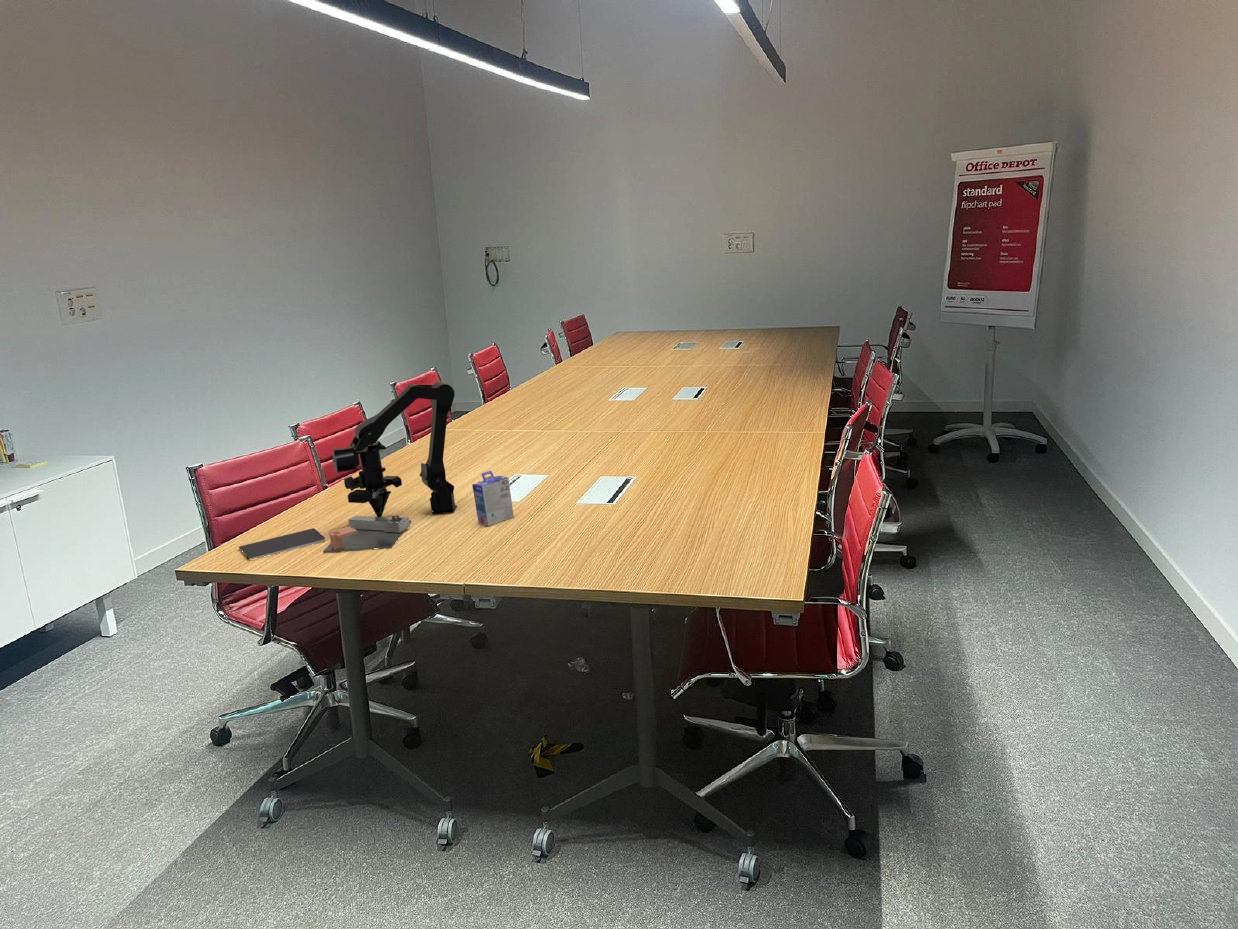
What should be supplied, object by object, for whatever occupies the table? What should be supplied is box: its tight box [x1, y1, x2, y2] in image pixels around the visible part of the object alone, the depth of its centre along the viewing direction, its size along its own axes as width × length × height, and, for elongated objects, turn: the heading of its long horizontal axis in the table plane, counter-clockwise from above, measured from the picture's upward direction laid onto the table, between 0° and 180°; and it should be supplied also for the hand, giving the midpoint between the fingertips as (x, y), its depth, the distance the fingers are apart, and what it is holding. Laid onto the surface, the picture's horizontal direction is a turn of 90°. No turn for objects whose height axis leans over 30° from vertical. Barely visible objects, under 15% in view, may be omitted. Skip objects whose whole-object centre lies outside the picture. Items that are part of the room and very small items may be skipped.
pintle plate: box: [322, 514, 413, 554], centre depth 258 cm, size 19×22×5 cm
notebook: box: [238, 527, 326, 560], centre depth 258 cm, size 13×2×21 cm
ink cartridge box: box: [471, 470, 515, 527], centre depth 261 cm, size 10×6×14 cm, turn 135°
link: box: [348, 515, 411, 533], centre depth 263 cm, size 18×5×3 cm, turn 68°
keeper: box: [329, 525, 358, 550], centre depth 250 cm, size 6×6×5 cm
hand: (379, 516), depth 268 cm, fingers closed
